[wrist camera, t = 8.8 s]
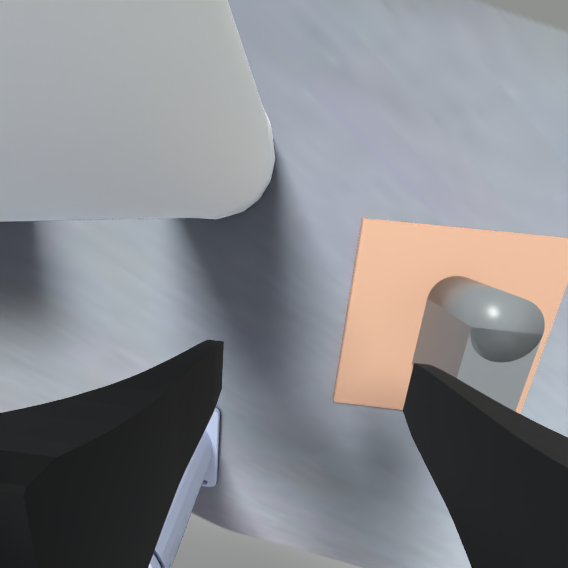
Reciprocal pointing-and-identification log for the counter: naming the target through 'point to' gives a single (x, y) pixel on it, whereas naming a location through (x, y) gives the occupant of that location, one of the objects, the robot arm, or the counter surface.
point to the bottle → (128, 112)
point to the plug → (480, 337)
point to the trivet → (415, 289)
